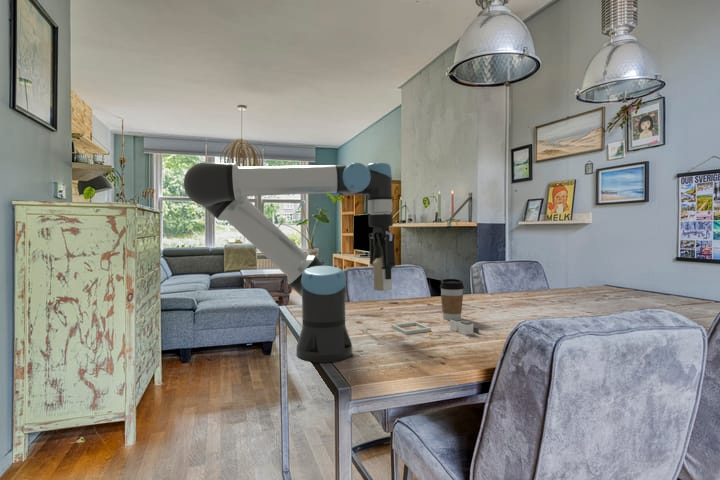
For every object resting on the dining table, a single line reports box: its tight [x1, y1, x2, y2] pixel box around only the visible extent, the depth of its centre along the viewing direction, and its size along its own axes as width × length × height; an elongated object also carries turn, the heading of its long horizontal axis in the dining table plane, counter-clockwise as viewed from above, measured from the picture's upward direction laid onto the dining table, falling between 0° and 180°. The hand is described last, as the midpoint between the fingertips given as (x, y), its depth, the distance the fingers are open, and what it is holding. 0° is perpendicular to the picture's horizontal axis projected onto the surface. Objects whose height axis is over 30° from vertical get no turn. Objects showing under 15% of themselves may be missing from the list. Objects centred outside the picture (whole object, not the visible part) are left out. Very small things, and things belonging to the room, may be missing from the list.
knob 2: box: [458, 320, 474, 336], centre depth 125 cm, size 3×3×4 cm
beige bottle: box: [372, 256, 387, 292], centre depth 127 cm, size 6×6×10 cm
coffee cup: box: [439, 278, 465, 321], centre depth 145 cm, size 8×8×15 cm
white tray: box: [390, 321, 480, 339], centre depth 129 cm, size 22×18×3 cm
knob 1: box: [449, 317, 464, 332], centre depth 129 cm, size 3×3×4 cm
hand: (382, 288), depth 128 cm, fingers closed on beige bottle, 5 cm apart
